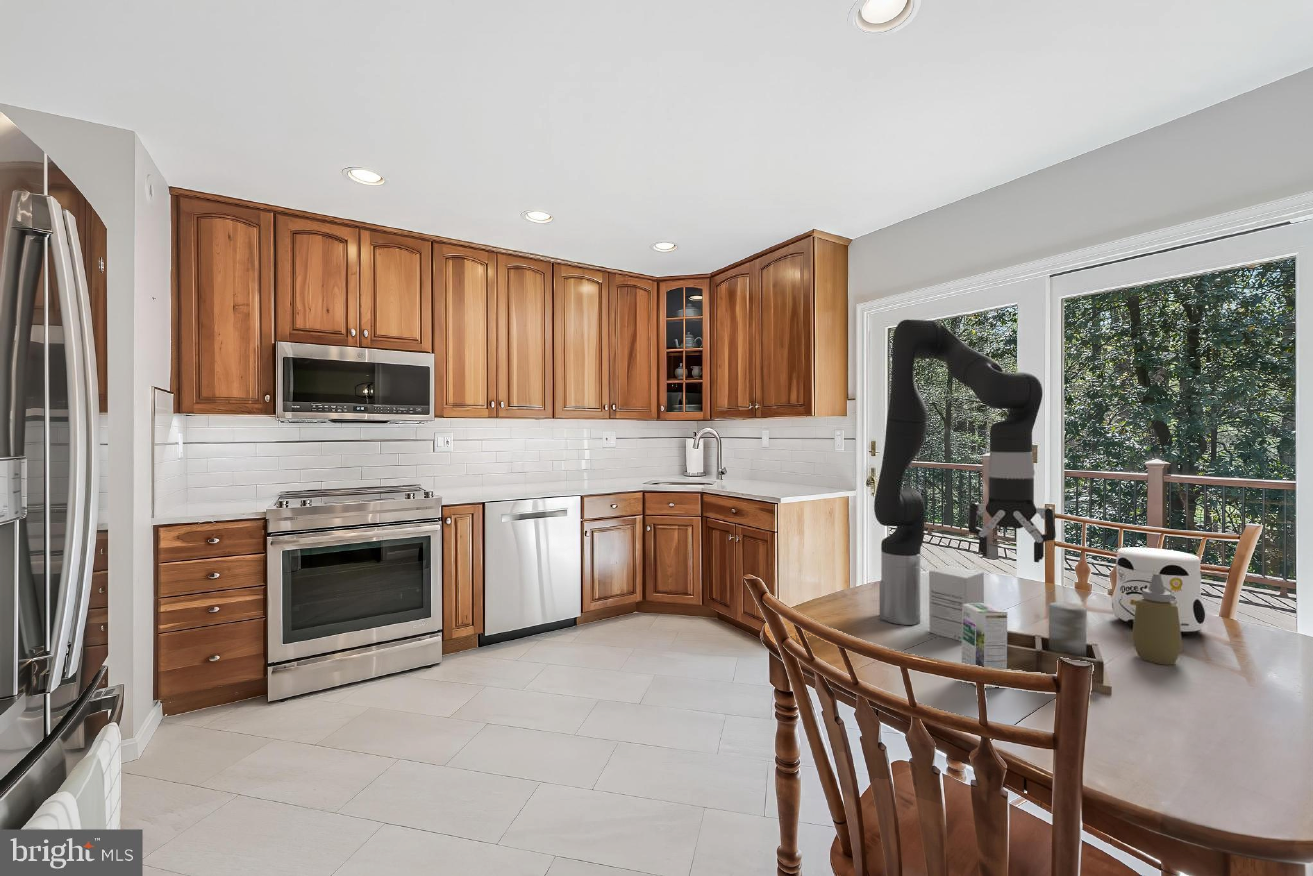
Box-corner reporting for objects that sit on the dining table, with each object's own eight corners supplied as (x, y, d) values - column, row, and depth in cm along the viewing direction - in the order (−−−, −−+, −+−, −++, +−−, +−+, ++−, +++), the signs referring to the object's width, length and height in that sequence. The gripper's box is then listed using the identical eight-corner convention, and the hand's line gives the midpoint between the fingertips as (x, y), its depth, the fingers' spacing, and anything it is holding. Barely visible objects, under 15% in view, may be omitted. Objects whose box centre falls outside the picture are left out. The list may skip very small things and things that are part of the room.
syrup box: (960, 676, 114) (960, 603, 114) (988, 675, 114) (988, 602, 114) (978, 689, 108) (978, 612, 108) (1008, 688, 109) (1008, 611, 109)
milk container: (1126, 634, 137) (1126, 558, 136) (1101, 612, 153) (1102, 544, 153) (1221, 644, 130) (1222, 564, 130) (1185, 620, 146) (1185, 549, 146)
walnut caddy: (974, 669, 117) (974, 602, 117) (977, 649, 128) (977, 588, 127) (1111, 694, 106) (1111, 621, 106) (1103, 671, 116) (1104, 604, 116)
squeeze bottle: (1170, 655, 124) (1170, 571, 124) (1190, 669, 116) (1191, 580, 116) (1124, 650, 127) (1125, 568, 126) (1141, 664, 119) (1142, 577, 119)
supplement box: (947, 624, 144) (947, 564, 144) (985, 635, 137) (985, 571, 137) (927, 632, 139) (927, 569, 139) (965, 643, 132) (966, 577, 131)
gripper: (965, 475, 114) (965, 557, 115) (1053, 478, 105) (1053, 567, 106) (973, 472, 120) (973, 551, 120) (1057, 475, 111) (1057, 560, 111)
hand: (1010, 558), depth 113 cm, fingers open, 8 cm apart
